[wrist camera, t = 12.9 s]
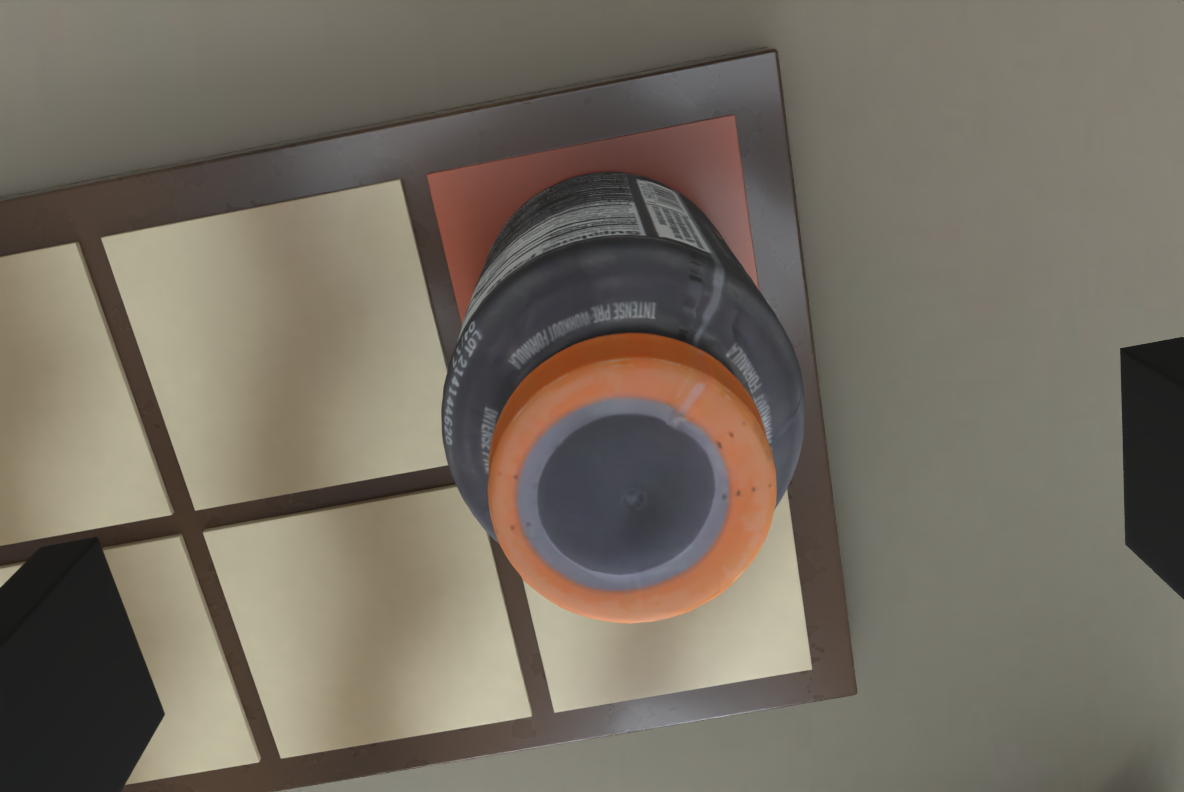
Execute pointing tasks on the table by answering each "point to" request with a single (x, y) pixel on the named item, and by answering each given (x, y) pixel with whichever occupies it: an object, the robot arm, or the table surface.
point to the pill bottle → (621, 401)
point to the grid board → (377, 437)
